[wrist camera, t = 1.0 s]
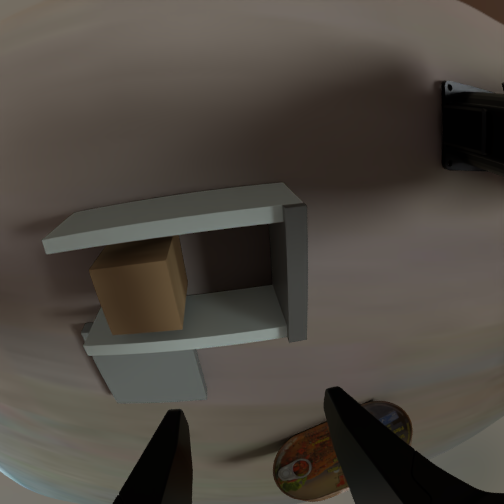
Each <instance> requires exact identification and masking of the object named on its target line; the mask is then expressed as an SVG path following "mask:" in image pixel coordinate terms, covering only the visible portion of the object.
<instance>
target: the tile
mask: <svg viewBox="0 0 504 504" xmlns="http://www.w3.org/2000/svg"><path fill="white" fill-rule="evenodd" d="M92 325H93V323H85V325H84V328H83V330H82V332H81V334H82V337H83V339H84V341H86V338H87V336H88V334H89V332H90V329H91V327H92ZM92 357H93V359H94V361H95V363H96V365H97V367H98V369H99V371H100V373H101V375H102V377H103V378H104V380H105V382H106V384H107V386H108V388H109V389H110V391H111V393H112V395H113V396H114V398H115V400H116V401H117V403H159V402H179V401H193V400H205V399H207V387H206V384H205V380H204V376H203V373H202V369H201V366H200V362H199V358H198V354H197V351H196V349H191V350H180V351H169V352H156V353H141V354H123V355H98V356H92Z"/></svg>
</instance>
